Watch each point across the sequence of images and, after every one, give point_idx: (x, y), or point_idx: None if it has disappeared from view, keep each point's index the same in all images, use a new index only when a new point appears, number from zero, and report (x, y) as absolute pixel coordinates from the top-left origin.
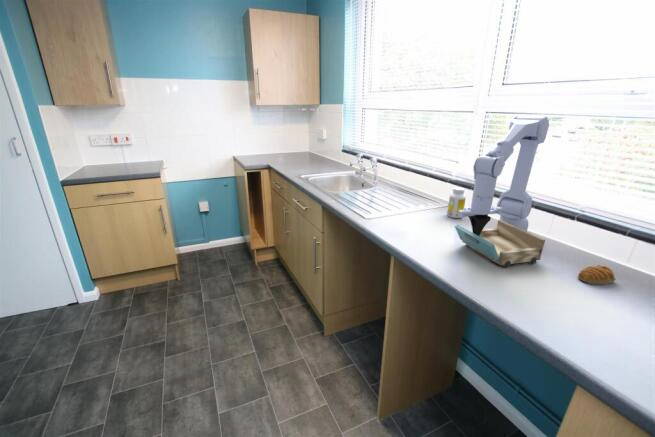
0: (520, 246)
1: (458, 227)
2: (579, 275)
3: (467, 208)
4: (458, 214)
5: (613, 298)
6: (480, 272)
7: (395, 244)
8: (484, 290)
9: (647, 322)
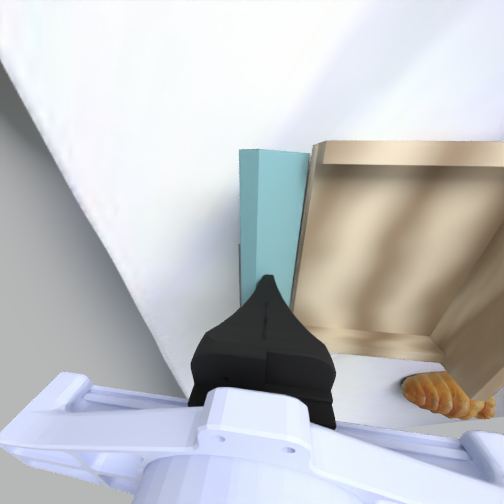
0: (449, 295)
1: (243, 185)
2: (412, 385)
3: (111, 449)
4: (48, 392)
5: (380, 410)
6: (229, 309)
7: (22, 62)
8: (194, 348)
9: None
